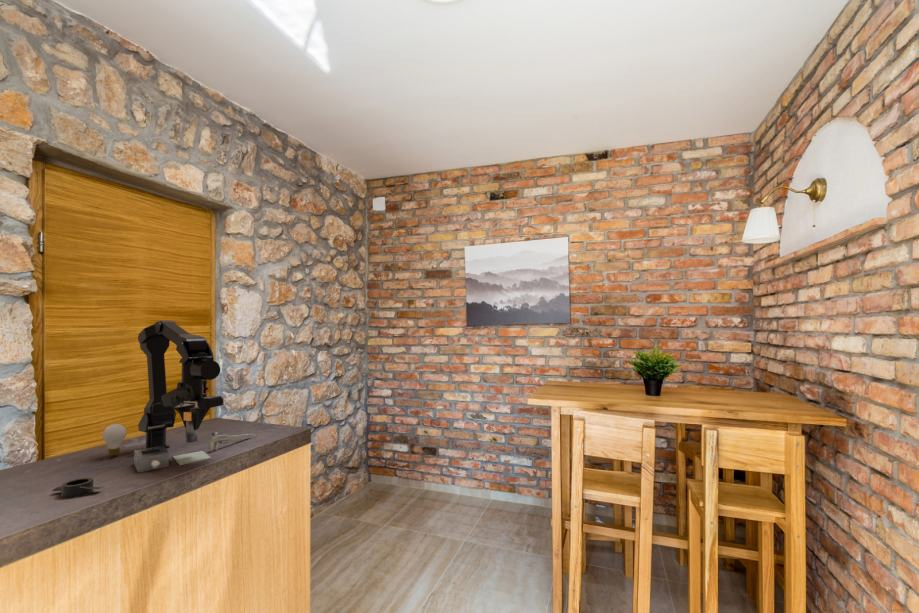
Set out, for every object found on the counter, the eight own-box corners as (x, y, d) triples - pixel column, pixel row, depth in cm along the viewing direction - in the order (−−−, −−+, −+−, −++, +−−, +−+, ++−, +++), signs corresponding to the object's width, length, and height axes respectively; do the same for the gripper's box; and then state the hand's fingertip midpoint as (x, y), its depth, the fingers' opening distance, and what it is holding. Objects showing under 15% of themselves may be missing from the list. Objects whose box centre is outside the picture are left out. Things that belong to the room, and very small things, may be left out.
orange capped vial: (192, 439, 131) (192, 410, 132) (199, 440, 130) (200, 410, 131) (183, 442, 128) (183, 412, 129) (190, 442, 128) (191, 412, 128)
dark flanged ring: (90, 485, 109) (90, 473, 109) (104, 493, 104) (105, 481, 104) (49, 495, 103) (50, 483, 103) (63, 504, 97) (63, 491, 97)
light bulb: (127, 456, 132) (128, 423, 133) (103, 460, 128) (104, 427, 128) (124, 452, 136) (124, 421, 137) (100, 456, 132) (101, 424, 132)
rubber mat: (173, 457, 130) (173, 456, 130) (202, 452, 136) (202, 450, 136) (179, 465, 123) (179, 463, 123) (210, 459, 128) (210, 457, 128)
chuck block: (133, 464, 124) (134, 450, 125) (162, 458, 129) (162, 445, 129) (140, 476, 114) (140, 461, 114) (171, 470, 119) (171, 455, 119)
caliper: (211, 453, 135) (211, 433, 135) (208, 453, 135) (208, 433, 135) (257, 436, 155) (257, 419, 155) (254, 436, 155) (254, 419, 155)
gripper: (143, 380, 125) (142, 434, 125) (192, 382, 120) (192, 438, 119) (178, 375, 136) (177, 425, 135) (225, 377, 131) (224, 428, 130)
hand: (191, 429), depth 130 cm, fingers closed on orange capped vial, 3 cm apart
